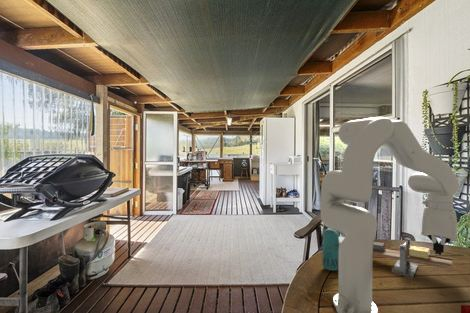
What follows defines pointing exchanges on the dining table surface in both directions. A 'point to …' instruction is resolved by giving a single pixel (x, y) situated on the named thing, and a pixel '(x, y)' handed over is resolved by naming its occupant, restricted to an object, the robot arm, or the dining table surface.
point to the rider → (419, 252)
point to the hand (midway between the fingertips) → (438, 253)
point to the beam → (433, 261)
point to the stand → (404, 262)
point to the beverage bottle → (330, 249)
